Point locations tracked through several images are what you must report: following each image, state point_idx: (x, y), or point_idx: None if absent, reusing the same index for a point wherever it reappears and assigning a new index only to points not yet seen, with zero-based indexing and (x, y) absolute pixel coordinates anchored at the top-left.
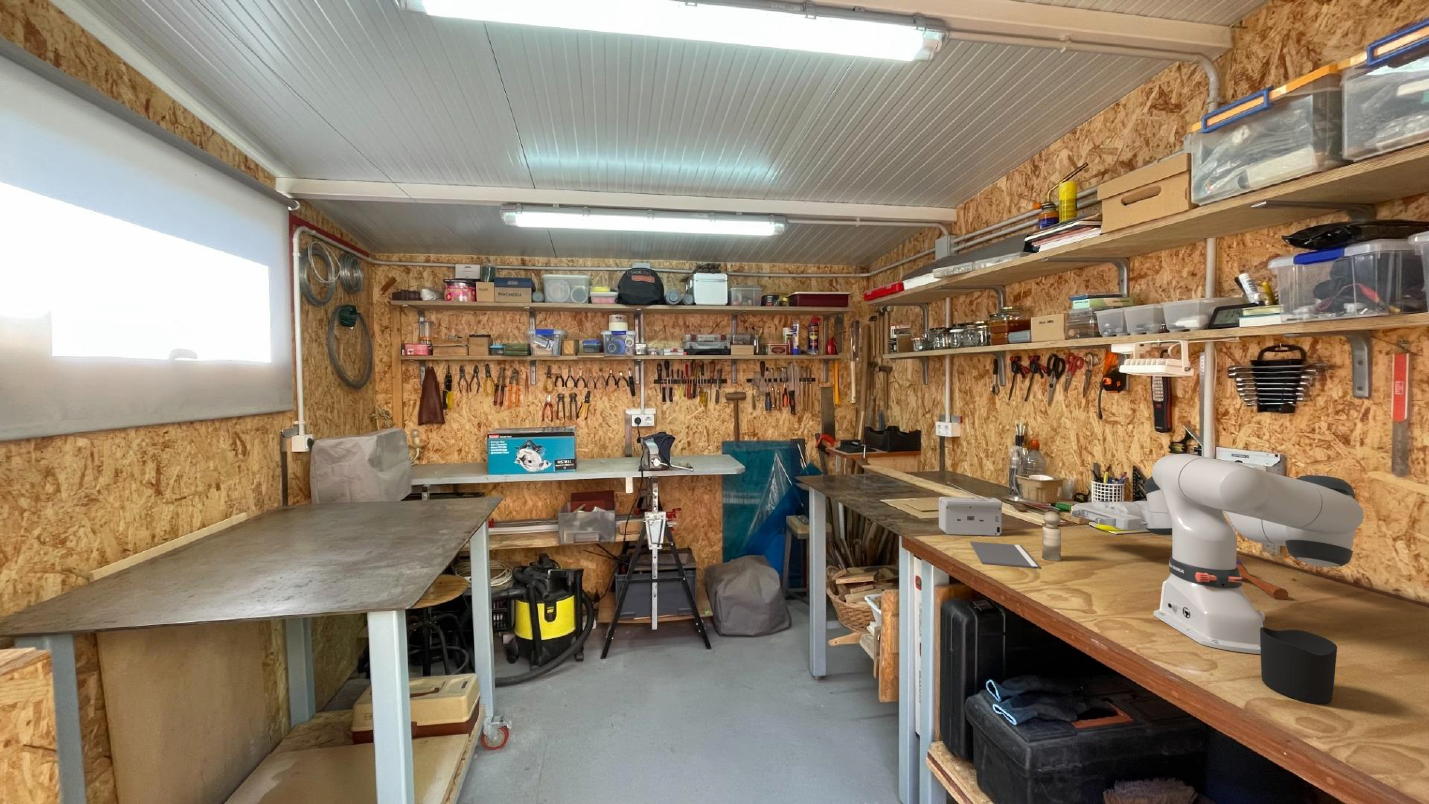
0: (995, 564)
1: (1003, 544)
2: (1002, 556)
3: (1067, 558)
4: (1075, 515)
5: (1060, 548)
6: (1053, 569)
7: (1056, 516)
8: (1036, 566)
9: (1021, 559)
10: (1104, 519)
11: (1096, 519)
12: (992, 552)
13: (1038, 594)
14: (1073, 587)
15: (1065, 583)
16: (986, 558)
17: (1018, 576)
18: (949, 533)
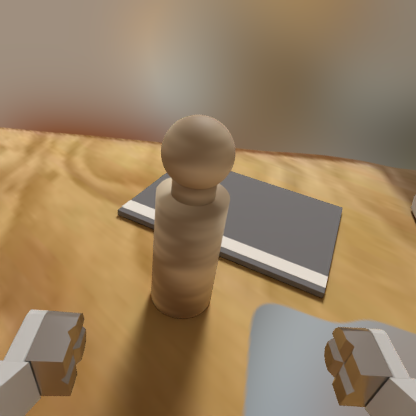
0: None
1: (324, 253)
2: None
3: (169, 351)
4: (330, 356)
5: (156, 270)
6: (98, 234)
7: (168, 130)
8: (123, 205)
9: None
10: (1, 364)
11: (69, 312)
12: (247, 196)
13: (17, 141)
14: None
15: (14, 195)
16: None
17: (101, 164)
18: (412, 208)
